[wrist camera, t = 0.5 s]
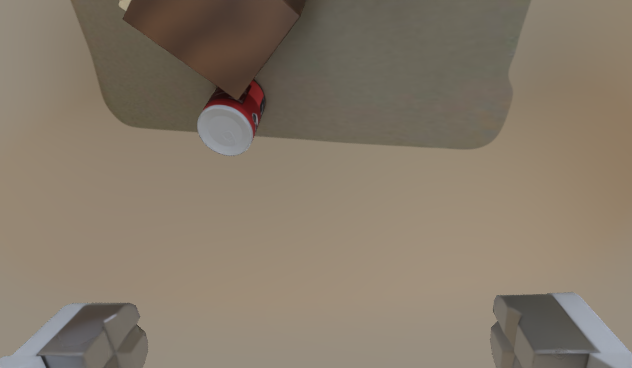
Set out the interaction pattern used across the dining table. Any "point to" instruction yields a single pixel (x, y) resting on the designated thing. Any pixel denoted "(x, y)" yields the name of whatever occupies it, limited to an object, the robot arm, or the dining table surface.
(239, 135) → the canned food
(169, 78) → the dining table surface
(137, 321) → the robot arm
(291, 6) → the cabinet
